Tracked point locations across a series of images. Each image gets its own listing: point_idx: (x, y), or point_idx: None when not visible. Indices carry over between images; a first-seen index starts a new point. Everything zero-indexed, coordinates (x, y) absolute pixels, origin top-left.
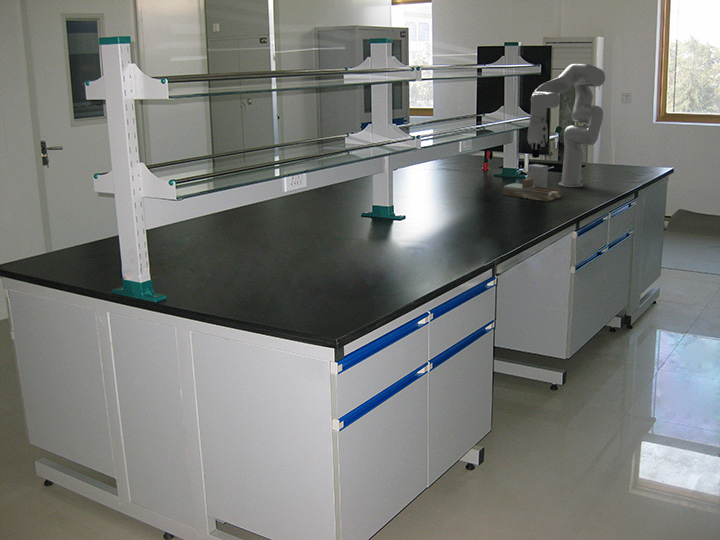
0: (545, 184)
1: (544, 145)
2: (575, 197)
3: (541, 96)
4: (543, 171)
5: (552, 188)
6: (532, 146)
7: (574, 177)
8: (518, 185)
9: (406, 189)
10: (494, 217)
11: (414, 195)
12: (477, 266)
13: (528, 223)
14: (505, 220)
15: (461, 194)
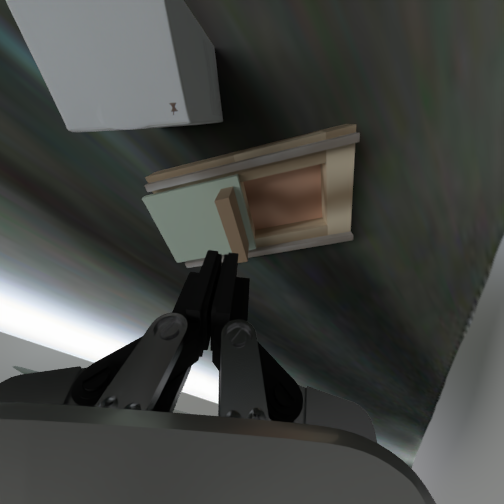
0: (209, 54)
1: (369, 425)
2: (407, 50)
3: None
4: (194, 78)
5: (319, 148)
6: (169, 386)
7: None
8: (192, 221)
9: (72, 349)
10: (338, 375)
11: None
12: (419, 442)
13: (402, 370)
14: (362, 376)
15: (152, 316)
